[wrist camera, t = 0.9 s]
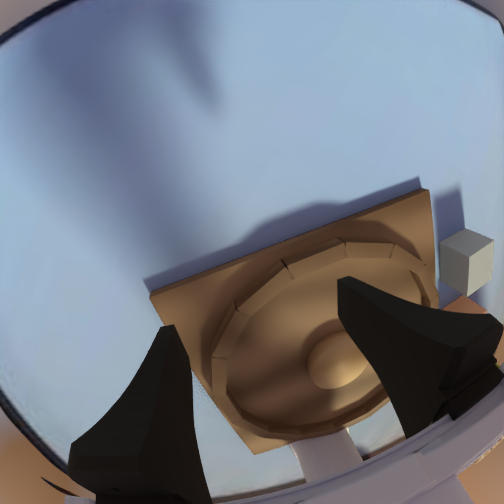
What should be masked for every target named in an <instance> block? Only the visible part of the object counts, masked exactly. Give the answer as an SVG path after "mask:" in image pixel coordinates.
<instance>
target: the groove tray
mask: <svg viewBox="0 0 504 504" xmlns="http://www.w3.org/2000/svg"><path fill="white" fill-rule="evenodd" d="M346 276H351V277H354V278H356V279H358V280H360V281H363V282H365V283H367V284H369V285H371V286H373V287H376V288H378V289H380V290H382V291H385V292H387V293H389V294H392V295H394V296H396V297H399V298H402V299H404V300H407V301H410V302H413V303H416V304H420V305H423V306H427V307H431V308H435V309H438V307H439V293H438V291H437V289H436V286H435V248H434V232H433V220H432V210H431V201H430V194H429V190H427V189H423V188H421V189H419V190H416V191H413V192H411V193H408V194H406V195H403V196H400V197H398V198H395V199H393V200H390V201H387V202H385V203H382V204H380V205H377V206H374V207H372V208H369V209H367V210H364V211H361V212H359V213H356V214H354V215H351V216H348V217H346V218H343V219H341V220H338V221H335V222H333V223H330V224H327V225H325V226H322V227H320V228H317V229H314V230H312V231H309V232H307V233H304V234H301V235H299V236H296V237H293V238H291V239H288V240H286V241H283V242H280V243H278V244H275V245H273V246H270V247H267V248H265V249H262V250H259V251H257V252H254V253H252V254H249V255H246V256H244V257H241V258H239V259H236V260H233V261H231V262H228V263H225V264H223V265H220V266H218V267H215V268H212V269H210V270H207V271H204V272H202V273H199V274H197V275H194V276H191V277H189V278H186V279H183V280H181V281H178V282H176V283H173V284H170V285H168V286H165V287H162V288H160V289H157V290H155V291H152V292H151V293H150V297H149V298H150V300H151V302H152V304H153V306H154V308H155V309H156V311H157V313H158V315H159V317H160V318H161V320H162V322H163V324H164V325H165V326H167V325H172V324H174V325H175V327H176V329H177V332H178V334H179V336H180V338H181V341H182V343H183V345H184V347H185V349H186V351H187V354H188V356H189V359H190V366H191V369H192V371H193V372H194V374H195V375H196V377H197V378H198V380H199V381H200V383H201V384H202V386H203V387H204V389H205V390H206V392H207V393H208V395H209V396H210V397H211V399H212V400H213V402H214V403H215V404H216V406H217V407H218V409H219V410H220V411H221V413H222V414H223V416H224V417H225V418H226V420H227V421H228V422H229V424H230V425H231V426H232V428H233V429H234V430H235V431H236V433H237V434H238V435H239V437H240V438H241V439H242V440H243V442H244V443H245V444H246V445H247V447H248V448H249V449H250V450H251V452H252V453H253V454H254V455H256V454H260V453H263V452H266V451H269V450H273V449H276V448H279V447H282V446H285V445H288V444H291V443H293V442H296V441H300V440H305V439H311V438H316V437H321V436H325V435H330V434H334V432H335V433H337V432H339V431H341V430H343V429H345V428H348V427H350V426H352V425H354V424H356V423H358V422H360V421H362V420H364V419H366V418H368V417H369V416H371V415H373V414H374V413H375V412H377V411H378V410H379V409H380V408H382V407H383V406H384V405H385V404H387V403H388V402H389V401H390V399H389V397H388V395H387V393H386V391H385V389H384V387H383V385H382V383H381V381H380V379H379V378H378V376H377V374H376V372H375V371H374V369H373V368H372V366H371V365H370V363H369V362H368V361H367V359H366V358H365V357H364V355H363V354H362V353H361V351H360V350H359V348H358V347H357V346H356V344H355V343H354V342H353V340H352V339H351V338H350V336H349V335H348V333H347V332H346V330H345V328H344V326H343V325H342V323H341V321H340V319H339V317H338V308H337V279H340V278H343V277H346Z"/></svg>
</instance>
